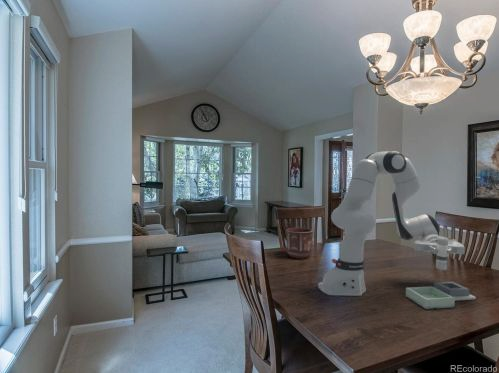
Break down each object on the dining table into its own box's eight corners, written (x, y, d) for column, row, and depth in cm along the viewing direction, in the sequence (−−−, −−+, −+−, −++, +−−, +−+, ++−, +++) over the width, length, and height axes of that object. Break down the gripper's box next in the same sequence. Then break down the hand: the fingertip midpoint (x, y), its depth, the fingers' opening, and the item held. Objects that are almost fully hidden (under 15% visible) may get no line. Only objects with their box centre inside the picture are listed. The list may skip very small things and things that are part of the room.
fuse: (439, 270, 133) (440, 238, 133) (433, 267, 137) (435, 236, 137) (449, 270, 133) (450, 238, 132) (443, 267, 137) (444, 236, 137)
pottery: (309, 252, 213) (309, 227, 212) (315, 260, 195) (315, 232, 195) (284, 253, 212) (284, 227, 212) (288, 260, 195) (288, 232, 194)
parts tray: (426, 309, 125) (426, 299, 125) (405, 296, 138) (406, 287, 138) (454, 307, 127) (454, 297, 127) (431, 294, 140) (431, 286, 140)
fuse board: (449, 300, 133) (449, 291, 133) (428, 289, 146) (428, 281, 146) (475, 299, 135) (476, 290, 135) (452, 288, 148) (452, 280, 148)
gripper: (410, 236, 150) (416, 242, 137) (458, 239, 144) (469, 246, 131) (410, 248, 151) (416, 256, 138) (458, 252, 144) (469, 260, 131)
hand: (442, 251), depth 134 cm, fingers closed on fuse, 4 cm apart
